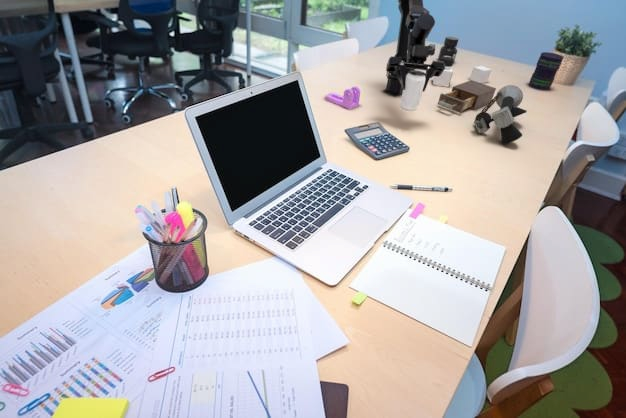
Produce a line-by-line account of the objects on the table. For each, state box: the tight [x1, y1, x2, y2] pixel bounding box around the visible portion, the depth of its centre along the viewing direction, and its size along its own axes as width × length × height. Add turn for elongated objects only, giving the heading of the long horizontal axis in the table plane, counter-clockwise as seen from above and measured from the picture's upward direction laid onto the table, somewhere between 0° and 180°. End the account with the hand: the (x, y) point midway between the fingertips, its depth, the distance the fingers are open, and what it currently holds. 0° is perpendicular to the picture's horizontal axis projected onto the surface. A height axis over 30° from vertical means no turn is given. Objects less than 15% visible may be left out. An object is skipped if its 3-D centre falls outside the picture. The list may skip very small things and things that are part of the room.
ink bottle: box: [437, 36, 460, 64], centre depth 211 cm, size 10×9×12 cm
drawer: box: [437, 90, 476, 114], centre depth 156 cm, size 19×10×4 cm, turn 134°
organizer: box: [451, 79, 497, 111], centre depth 164 cm, size 16×12×6 cm
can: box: [399, 69, 426, 112], centre depth 133 cm, size 6×6×12 cm
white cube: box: [469, 65, 492, 84], centre depth 189 cm, size 6×6×6 cm
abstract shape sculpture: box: [473, 84, 527, 145], centre depth 142 cm, size 15×13×30 cm
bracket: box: [326, 85, 361, 110], centre depth 151 cm, size 13×6×7 cm, turn 50°
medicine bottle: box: [432, 56, 455, 88], centre depth 178 cm, size 7×7×12 cm
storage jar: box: [528, 52, 565, 91], centre depth 186 cm, size 10×10×15 cm
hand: (413, 90), depth 131 cm, fingers closed on can, 6 cm apart
